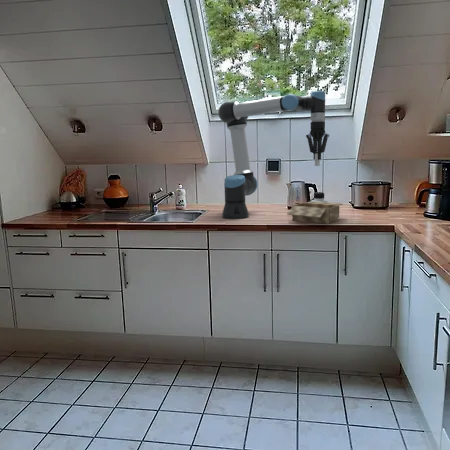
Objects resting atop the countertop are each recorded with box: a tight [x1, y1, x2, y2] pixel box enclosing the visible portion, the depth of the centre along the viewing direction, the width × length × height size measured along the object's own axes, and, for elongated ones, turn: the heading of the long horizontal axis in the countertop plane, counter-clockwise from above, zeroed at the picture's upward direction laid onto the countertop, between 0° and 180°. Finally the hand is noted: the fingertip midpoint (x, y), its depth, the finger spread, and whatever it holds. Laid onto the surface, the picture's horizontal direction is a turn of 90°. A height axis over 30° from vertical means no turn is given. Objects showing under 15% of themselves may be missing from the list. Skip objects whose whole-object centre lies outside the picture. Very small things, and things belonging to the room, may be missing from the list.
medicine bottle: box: [310, 191, 328, 203], centre depth 262 cm, size 7×7×12 cm
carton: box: [291, 200, 344, 225], centre depth 241 cm, size 22×19×8 cm
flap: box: [286, 206, 326, 218], centre depth 231 cm, size 19×1×7 cm
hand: (317, 165), depth 243 cm, fingers closed
